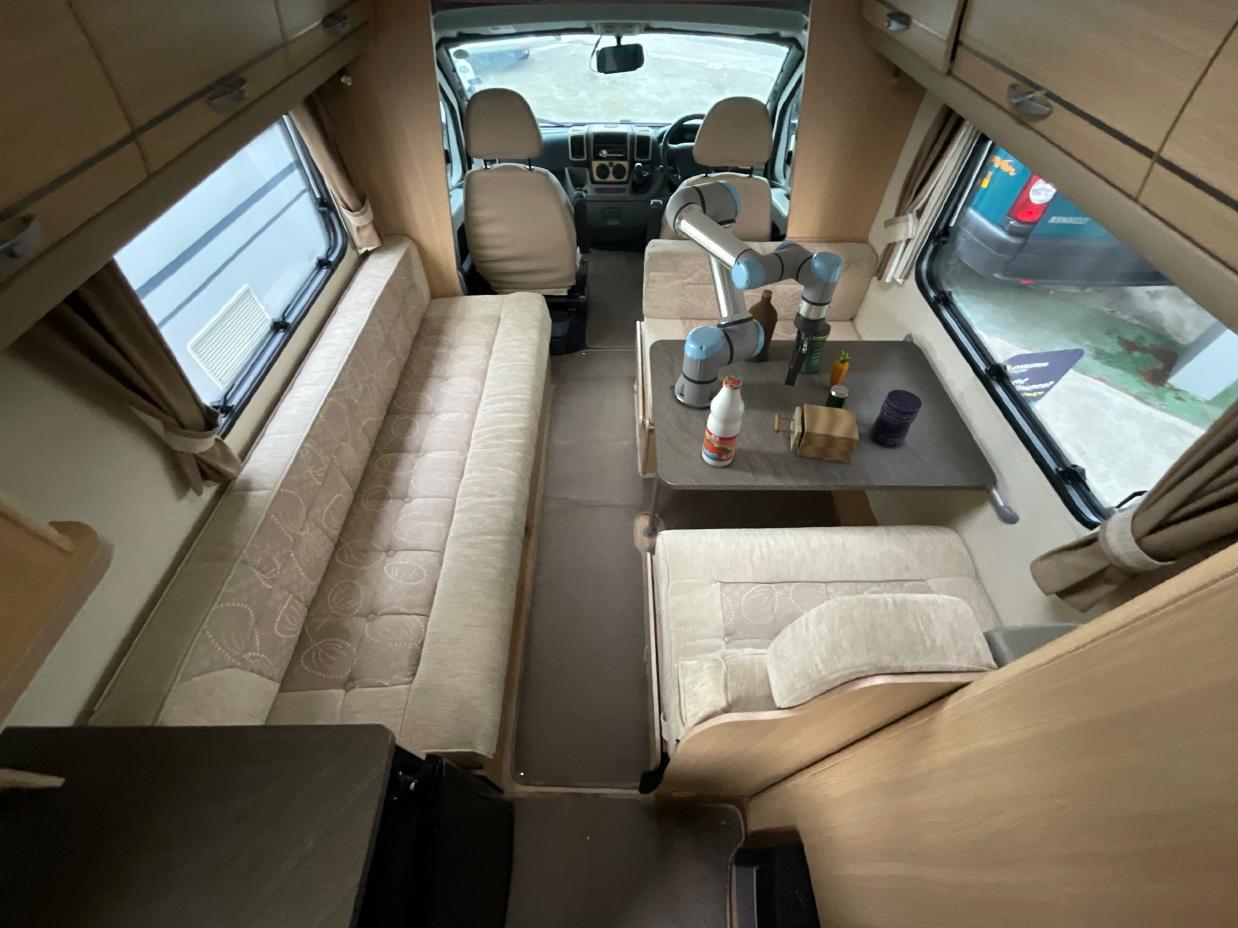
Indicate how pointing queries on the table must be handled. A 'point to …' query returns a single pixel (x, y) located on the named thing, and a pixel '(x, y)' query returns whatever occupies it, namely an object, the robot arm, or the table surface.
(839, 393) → the beer can
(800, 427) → the drawer
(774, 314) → the olive oil
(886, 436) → the storage jar
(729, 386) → the fruit juice
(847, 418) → the cabinet
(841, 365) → the carrot
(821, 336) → the coffee jar
